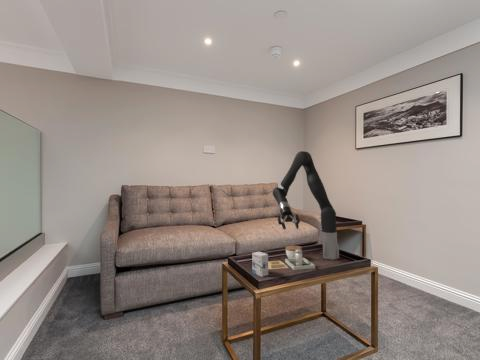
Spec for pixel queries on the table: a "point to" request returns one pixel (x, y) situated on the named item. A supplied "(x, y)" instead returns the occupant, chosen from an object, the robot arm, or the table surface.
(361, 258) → the table surface
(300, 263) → the fuse
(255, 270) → the ink box
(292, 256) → the lidded jar
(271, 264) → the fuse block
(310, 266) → the parts tray
